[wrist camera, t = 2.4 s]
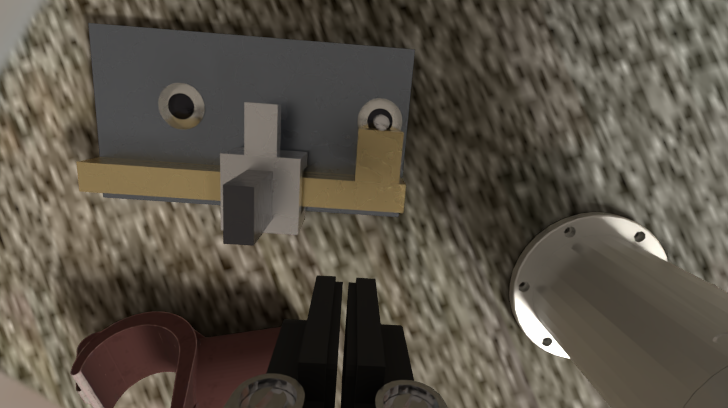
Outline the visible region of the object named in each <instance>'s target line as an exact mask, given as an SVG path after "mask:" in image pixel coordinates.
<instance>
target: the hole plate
mask: <svg viewBox="0 0 728 408" xmlns="http://www.w3.org/2000/svg"><path fill="white" fill-rule="evenodd" d="M88 24H89V36H90V48H91V59H92V71H93V83H94V94H95V106H96V118H97V129H98V141H99V153H100V157H108V158H122V159H136V160H150V161H165V162H179V163H193V164H207V165H220V153H222V152H225V151H228V150H230V149H233V148H236V147H244V102H253V103H266V104H279V105H281V138H280V150H287V151H301V152H308V156H307V167H306V168H305V169H304V170H303V171H307V172H321V173H336V174H350V175H355V169H356V155H357V141H358V127H366V128H376V127H375V126H374V124H373V119H374V117H375V116H376V115H378V114H382V115H384V116H386V117H387V118H388V119H389V122H390V124H389V127H388V128H387V129H393V130H401V131H402V132H404V137H403V147H402V157H401V168H400V178H402V175H403V165H404V155H405V145H406V135H407V125H408V114H409V104H410V94H411V84H412V74H413V64H414V53H415V49H402V48H390V47H378V46H365V45H353V44H341V43H328V42H316V41H304V40H291V39H279V38H267V37H254V36H242V35H230V34H217V33H205V32H193V31H181V30H168V29H156V28H144V27H131V26H119V25H107V24H94V23H88ZM103 197H107V198H122V199H137V200H152V201H167V202H182V203H197V204H212V205H221V201H216V200H201V199H186V198H171V197H157V196H142V195H127V194H112V193H103ZM305 211H317V212H331V213H346V214H361V215H376V216H391V217H398V216H399V213H394V212H380V211H365V210H350V209H335V208H320V207H305Z"/></svg>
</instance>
